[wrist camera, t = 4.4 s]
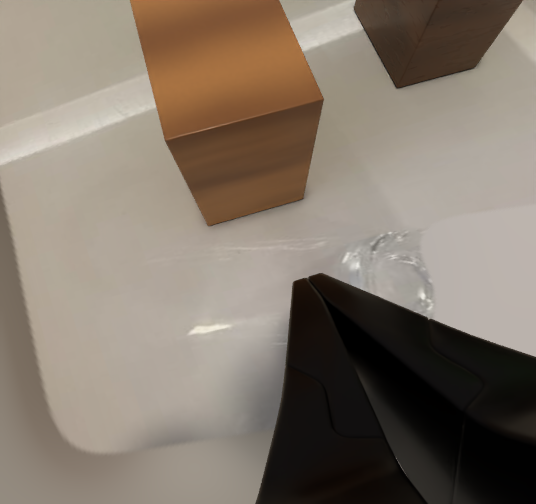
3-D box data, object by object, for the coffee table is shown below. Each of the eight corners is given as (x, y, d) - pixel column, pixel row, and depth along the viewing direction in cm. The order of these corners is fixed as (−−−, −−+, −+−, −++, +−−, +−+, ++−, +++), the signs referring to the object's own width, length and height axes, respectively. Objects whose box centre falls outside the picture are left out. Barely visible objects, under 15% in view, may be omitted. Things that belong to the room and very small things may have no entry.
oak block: (303, 198, 19) (324, 98, 12) (208, 226, 19) (164, 141, 11) (264, 98, 21) (261, -41, 14) (179, 120, 21) (127, -11, 13)
